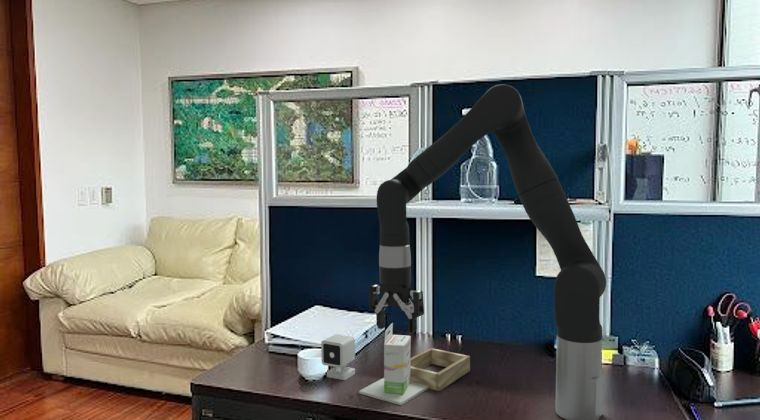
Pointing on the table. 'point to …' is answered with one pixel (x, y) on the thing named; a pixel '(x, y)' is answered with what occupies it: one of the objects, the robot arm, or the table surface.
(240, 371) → the table surface
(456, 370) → the wooden frame
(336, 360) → the security camera
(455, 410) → the table surface
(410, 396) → the mat
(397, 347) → the ink box
